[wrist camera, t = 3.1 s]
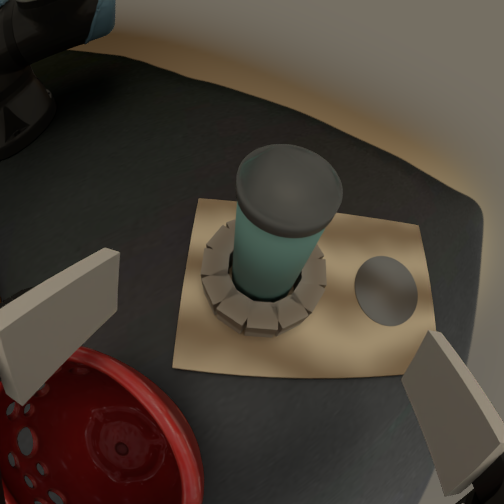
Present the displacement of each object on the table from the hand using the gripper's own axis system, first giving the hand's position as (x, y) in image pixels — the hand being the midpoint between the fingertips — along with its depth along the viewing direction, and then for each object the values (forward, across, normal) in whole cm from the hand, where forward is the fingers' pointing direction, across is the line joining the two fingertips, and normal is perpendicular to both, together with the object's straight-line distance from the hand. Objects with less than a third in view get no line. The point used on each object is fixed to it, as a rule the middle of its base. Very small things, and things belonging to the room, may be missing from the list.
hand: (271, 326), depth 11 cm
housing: (+15, +5, -4) cm, 16 cm away
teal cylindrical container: (+14, -1, -4) cm, 14 cm away
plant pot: (+3, -7, -16) cm, 18 cm away
